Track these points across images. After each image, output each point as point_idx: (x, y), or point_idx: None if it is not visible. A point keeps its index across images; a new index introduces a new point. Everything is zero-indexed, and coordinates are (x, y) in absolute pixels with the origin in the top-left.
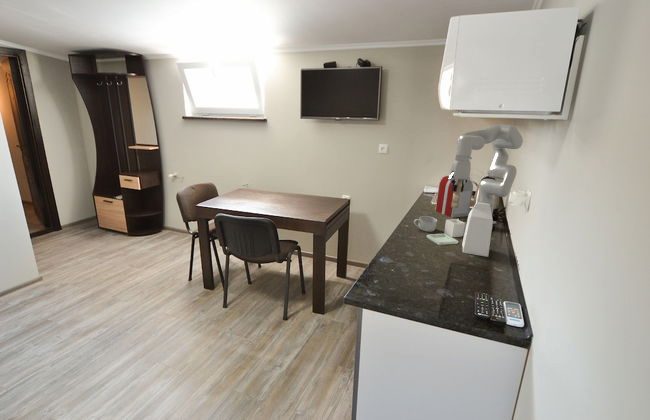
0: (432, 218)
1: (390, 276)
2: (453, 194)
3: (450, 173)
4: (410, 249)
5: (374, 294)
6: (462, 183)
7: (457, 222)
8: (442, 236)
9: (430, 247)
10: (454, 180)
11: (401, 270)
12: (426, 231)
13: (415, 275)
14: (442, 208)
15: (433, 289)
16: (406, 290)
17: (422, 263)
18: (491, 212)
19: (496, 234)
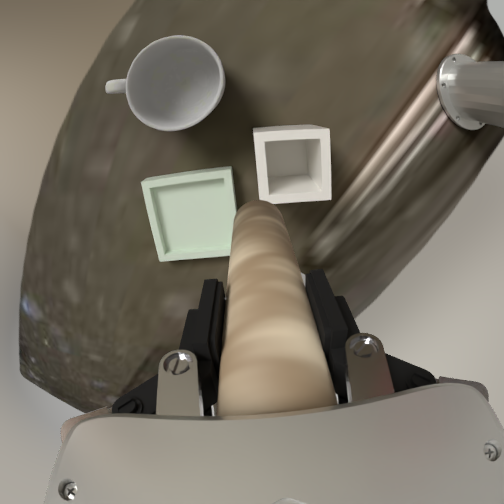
0: (213, 57)
1: (46, 356)
2: (228, 272)
3: (58, 502)
4: (75, 267)
5: (38, 379)
6: (336, 390)
7: (317, 147)
8: (214, 179)
9: (132, 260)
10: (190, 414)
11: (58, 347)
12: (171, 113)
13: (80, 364)
14: None
15: (103, 394)
16: (69, 386)
17: (94, 336)
18: None
19: (458, 173)
